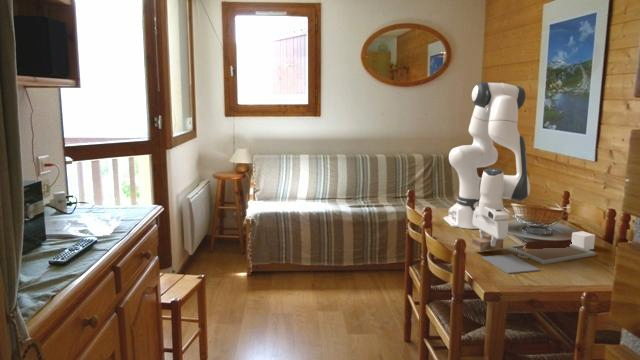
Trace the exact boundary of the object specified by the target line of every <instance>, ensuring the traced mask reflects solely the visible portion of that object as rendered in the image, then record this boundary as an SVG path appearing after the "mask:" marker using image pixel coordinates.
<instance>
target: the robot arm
mask: <svg viewBox="0 0 640 360" xmlns="http://www.w3.org/2000/svg"><path fill="white" fill-rule="evenodd" d="M526 95H527V94H526V90H525V89H524V88H523V87H521V86H519V85H515V84H514V85H512V84H509V83H505V82H488V81H480V82H477V83H476V84H475V85H474V86H473V89H472V92H471V101H472V104H474V105H475V106H474V108H473V112H472V115H471V117H470V118H471V119H470V123H469V126H468V133H469V135H470V136H471V137H472V138H473V139H472V140H473V141H472V144H467V145H466V144H465V145H464V144H461V145H459V146H456V147H453V148H452V149H451V150H450V152H449V154H448V162H449V164H450V165H451V167H452V168H454V170H455V171H456V173H457V176H458V180H459V191H458V192H459V193H458V194H459V195H457V196H456V203H455V204H453V205H452V206H451V207H449V209H448V211H447V212H448V215H446V216H444V217H443V220H444V221H445V222H447V223H448V225H449V226H450V227H454V228H461V229H468V230H469V229H470V230H473V229H474V230H477V229H478V231H479V235H480V238H482V237H487V235H486V234H488V235H490V236H491V238H492V240H491V241H490V244H489V245H491V246H495V244H496V241H497V239H503V240H505V239H506V238H507V237H508V234H509V221H508V220H510V213H509V212H508V211H507V210H506V209H505V207H504V205H503V203H504V202H503V199H504V200H505V199H506V200H511V201H516V202H522V201H524V200H525V199H527V198H528V197H529V196H530V192H531V184H530V181H529V174H528V161H527V148H526V141H525V137H524V136H522V135H520V133H519V130H518V122H519V121H518V120H519V109H521V108H522V107H523V106H524V103H525V101H526ZM494 143H496V144H498V145H499V146H502V147H504V148H507V149H508V150H510V151H512V153H514V156H515V167H516V174H515V175H512V174H511V175H509V174H504V171H503V169H500V168H497V167H489V166H491V165H492V166H493V165H494V164H495V163H496V162H497V161H498V158H499V157H498V156H499V153H498V149H497V148H496V147H495V146H494ZM488 167H489V168H488ZM477 168H479V169H480V168H486V169H484V170H483V172H482V175H481V177H480V176H479V174H478V169H477Z"/></svg>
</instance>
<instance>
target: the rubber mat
mask: <svg viewBox="0 0 640 360" xmlns="http://www.w3.org/2000/svg"><path fill="white" fill-rule="evenodd" d="M481 259H483V261H486V262H487V263H489V264H491V265H493V266H495V268H498V269H499V270H501V271H502V272H503V273H506V274H508V275H511V274H521V273H531V272H539V271H541V269H540V268H538V267H536V266H534V265H532V264H531V263H529V262H527V261H525V260H523V259H522V258H520V257H518V256H516V255H514V254H512V253H510V254H499V255H498V254H497V255H488V256H487V255H486V256H485V255H484V256H481Z"/></svg>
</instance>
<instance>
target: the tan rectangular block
mask: <svg viewBox="0 0 640 360" xmlns="http://www.w3.org/2000/svg"><path fill="white" fill-rule="evenodd" d="M491 240H492V238H491V235H490V236H486V237H482V238H481V237H476V238H472V244H471V245H472V246H471V248H473V249H475V250H477V251H479V252H484V251H485V252H486V251H490V250H498V249H504V239H497V241H496V244H495V246H491V245H489V244H490V241H491Z"/></svg>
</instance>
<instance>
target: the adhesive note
mask: <svg viewBox="0 0 640 360" xmlns="http://www.w3.org/2000/svg"><path fill="white" fill-rule="evenodd" d="M571 242H572V245H575V246H578V247H581V248H584V249H587V250H590V251H591V250H595V242H596V235H595V234H594V233H590V232H586V231H583V230H582V231H581V230H580V231H574V232H572V233H571ZM571 242H570V243H571Z"/></svg>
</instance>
